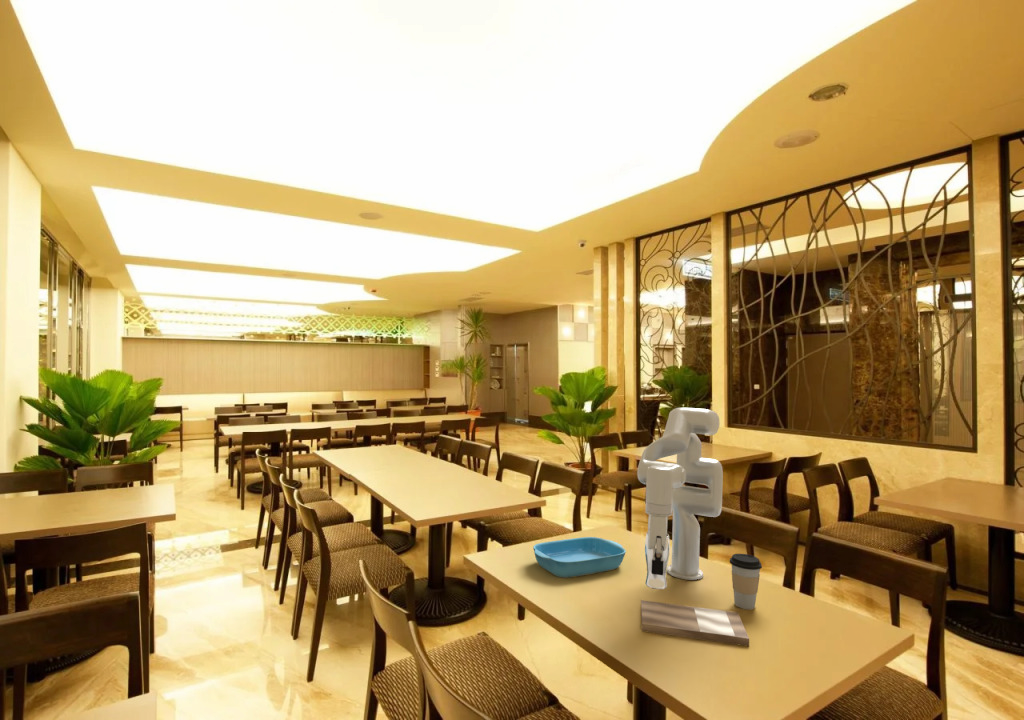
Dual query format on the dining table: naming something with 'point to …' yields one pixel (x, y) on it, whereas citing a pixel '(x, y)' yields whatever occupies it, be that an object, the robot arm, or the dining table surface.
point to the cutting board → (693, 622)
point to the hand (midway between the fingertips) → (656, 569)
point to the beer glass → (652, 579)
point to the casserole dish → (579, 556)
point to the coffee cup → (745, 579)
